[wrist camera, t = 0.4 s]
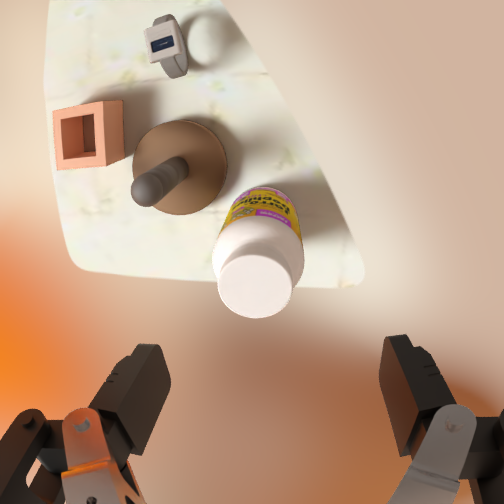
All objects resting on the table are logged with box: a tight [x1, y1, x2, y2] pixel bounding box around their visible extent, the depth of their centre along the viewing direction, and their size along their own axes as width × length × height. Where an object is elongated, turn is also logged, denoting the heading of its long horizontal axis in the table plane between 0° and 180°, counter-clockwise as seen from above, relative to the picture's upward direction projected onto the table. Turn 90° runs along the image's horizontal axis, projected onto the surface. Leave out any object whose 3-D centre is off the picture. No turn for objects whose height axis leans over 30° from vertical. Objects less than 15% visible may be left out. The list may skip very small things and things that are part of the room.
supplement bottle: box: [212, 187, 304, 318], centre depth 25 cm, size 7×7×13 cm
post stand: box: [131, 120, 227, 215], centre depth 24 cm, size 9×9×10 cm
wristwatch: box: [144, 14, 188, 79], centre depth 22 cm, size 6×3×5 cm, turn 11°
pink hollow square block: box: [53, 100, 125, 170], centre depth 26 cm, size 6×6×4 cm
